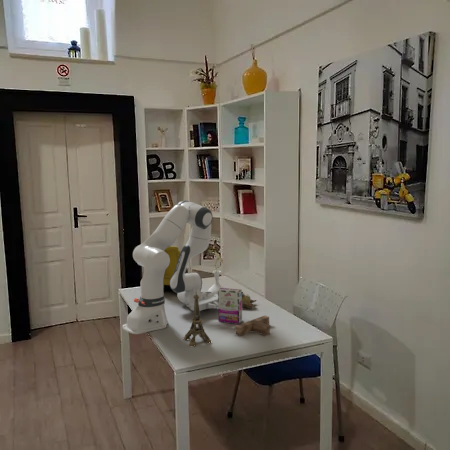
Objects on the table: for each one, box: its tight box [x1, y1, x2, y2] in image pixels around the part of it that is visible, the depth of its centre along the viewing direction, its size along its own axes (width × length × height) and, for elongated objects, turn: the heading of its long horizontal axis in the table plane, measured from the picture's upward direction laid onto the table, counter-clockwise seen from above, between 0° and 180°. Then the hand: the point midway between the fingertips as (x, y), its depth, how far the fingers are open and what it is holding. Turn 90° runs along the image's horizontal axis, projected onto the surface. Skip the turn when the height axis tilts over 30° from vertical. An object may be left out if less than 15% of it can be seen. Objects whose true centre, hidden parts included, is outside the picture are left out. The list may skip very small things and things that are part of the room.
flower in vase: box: [207, 252, 225, 294], centre depth 272 cm, size 13×11×25 cm
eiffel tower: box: [183, 293, 212, 347], centre depth 202 cm, size 11×11×25 cm
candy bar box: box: [217, 287, 243, 325], centre depth 225 cm, size 11×5×16 cm, turn 68°
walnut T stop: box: [234, 315, 271, 337], centre depth 212 cm, size 20×11×4 cm, turn 133°
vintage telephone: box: [163, 245, 192, 291], centre depth 276 cm, size 31×14×30 cm, turn 63°
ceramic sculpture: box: [242, 291, 257, 309], centre depth 249 cm, size 11×9×15 cm
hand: (217, 306), depth 233 cm, fingers closed
